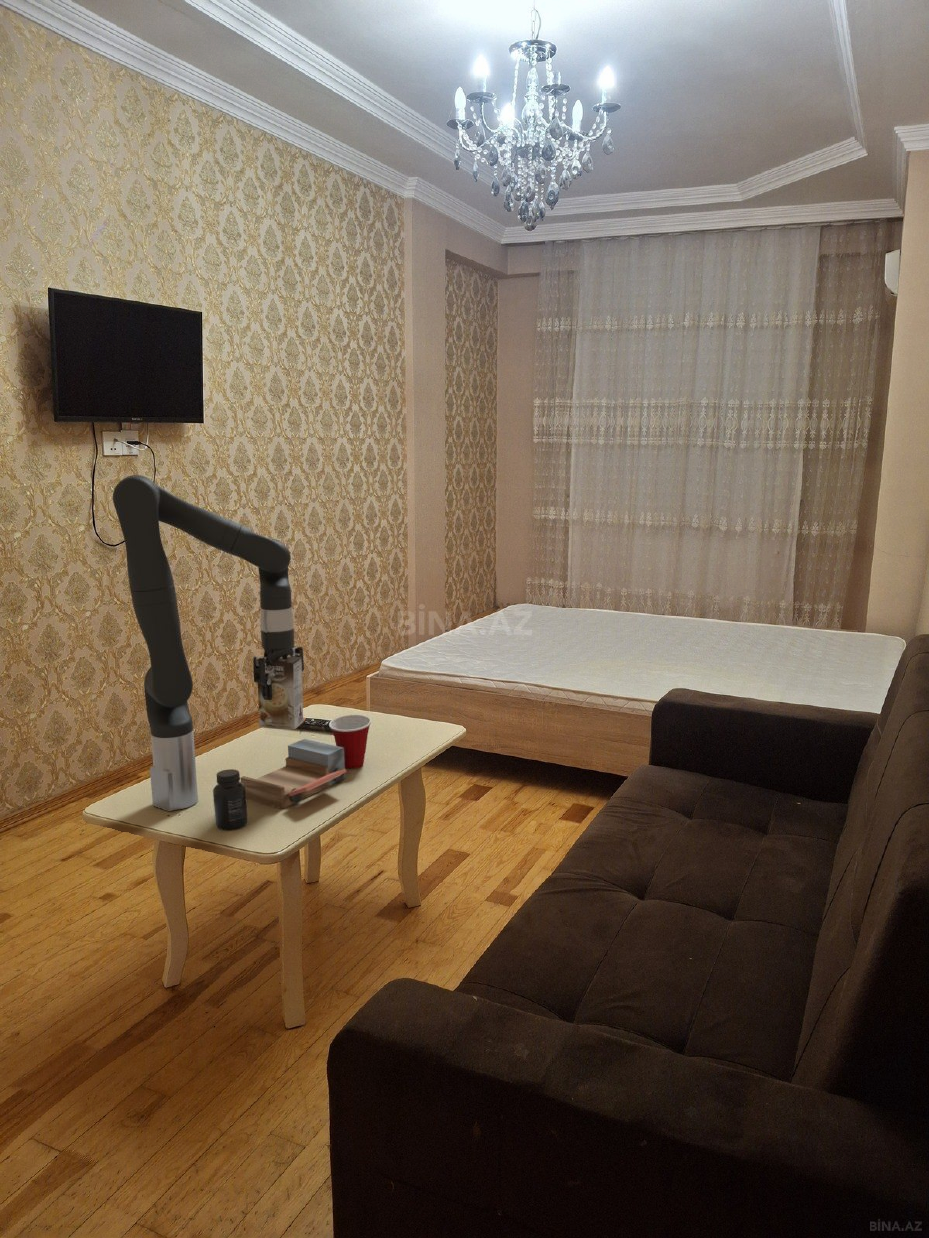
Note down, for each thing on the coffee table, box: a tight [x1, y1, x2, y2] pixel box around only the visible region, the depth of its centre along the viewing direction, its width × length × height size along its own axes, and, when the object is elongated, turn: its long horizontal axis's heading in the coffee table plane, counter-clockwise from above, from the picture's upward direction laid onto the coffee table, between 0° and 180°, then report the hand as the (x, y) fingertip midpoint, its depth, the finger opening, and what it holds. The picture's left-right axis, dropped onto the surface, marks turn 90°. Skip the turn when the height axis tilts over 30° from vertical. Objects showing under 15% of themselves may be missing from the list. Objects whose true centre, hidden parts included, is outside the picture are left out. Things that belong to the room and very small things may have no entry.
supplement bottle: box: [212, 768, 248, 832], centre depth 195 cm, size 7×7×12 cm
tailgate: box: [289, 768, 347, 796], centre depth 207 cm, size 14×1×6 cm
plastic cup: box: [328, 714, 372, 770], centre depth 230 cm, size 11×11×12 cm
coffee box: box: [257, 657, 304, 730], centre depth 209 cm, size 9×6×16 cm
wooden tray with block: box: [240, 738, 346, 810], centre depth 215 cm, size 22×14×8 cm, turn 147°
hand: (280, 695), depth 209 cm, fingers closed on coffee box, 8 cm apart
